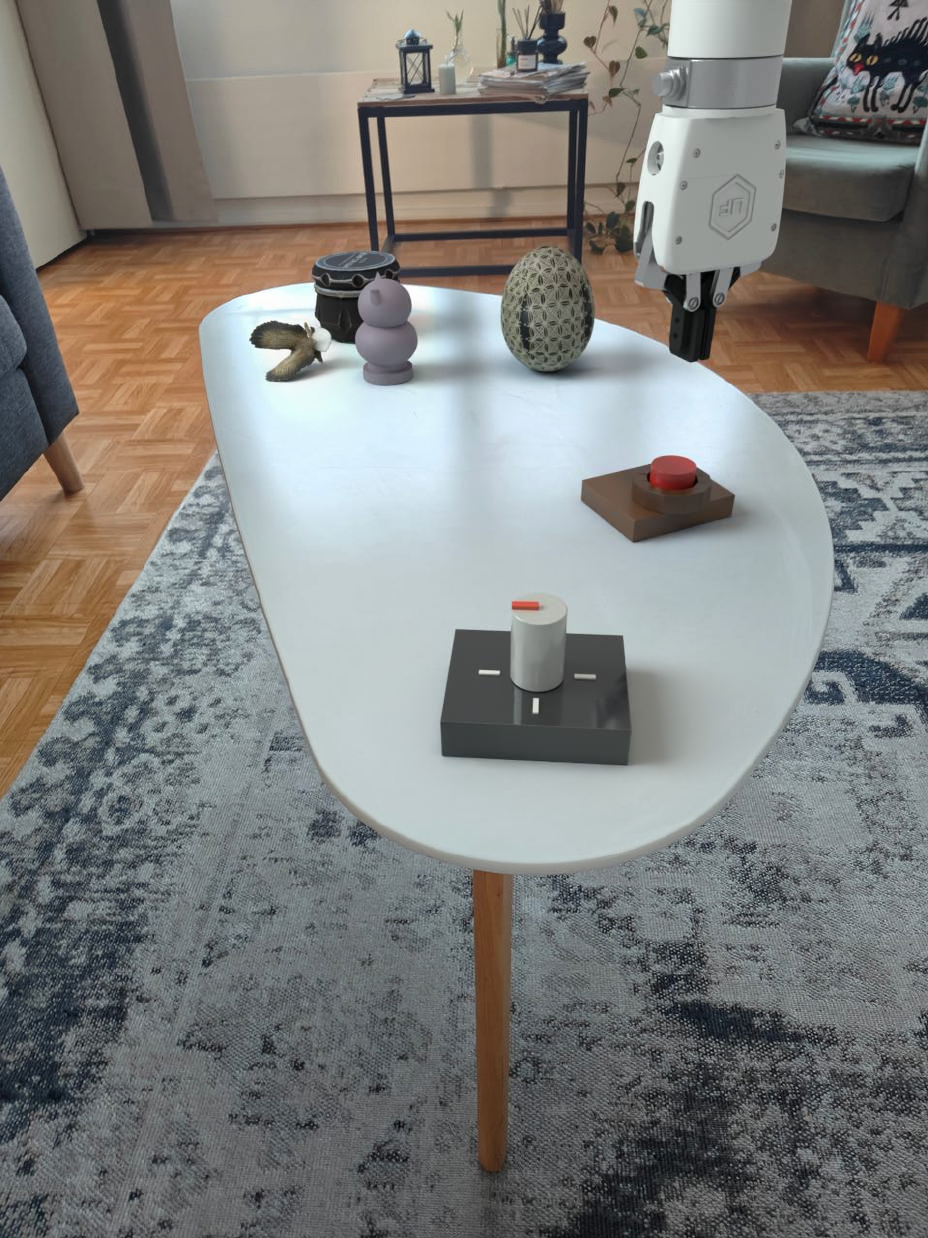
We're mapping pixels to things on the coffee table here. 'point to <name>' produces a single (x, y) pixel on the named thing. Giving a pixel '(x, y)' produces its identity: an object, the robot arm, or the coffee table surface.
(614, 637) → the hob panel
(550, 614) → the hob knob
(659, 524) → the power block
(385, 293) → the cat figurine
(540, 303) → the decorative egg
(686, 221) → the robot arm
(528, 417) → the coffee table surface
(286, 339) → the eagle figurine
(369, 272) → the container
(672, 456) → the power button
